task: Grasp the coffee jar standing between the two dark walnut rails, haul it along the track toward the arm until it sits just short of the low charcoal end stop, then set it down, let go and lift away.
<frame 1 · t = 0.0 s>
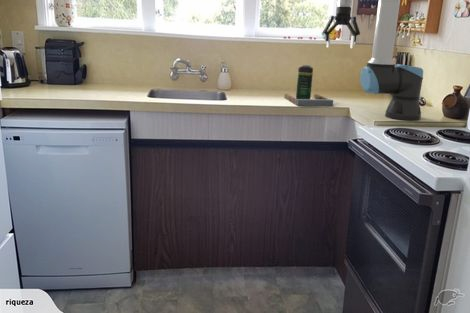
hand: (339, 48, 230), 28 cm above the worktop, fingers open, 13 cm apart
end stop: (314, 105, 216), on the worktop
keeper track: (306, 101, 228), on the worktop
coffee jar: (303, 100, 234), on the worktop
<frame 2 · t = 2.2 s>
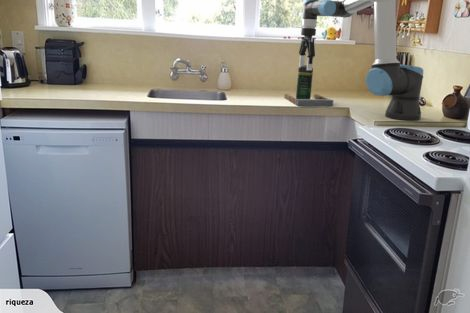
hand: (305, 68, 230), 17 cm above the worktop, fingers open, 13 cm apart
nothing on the worktop moved.
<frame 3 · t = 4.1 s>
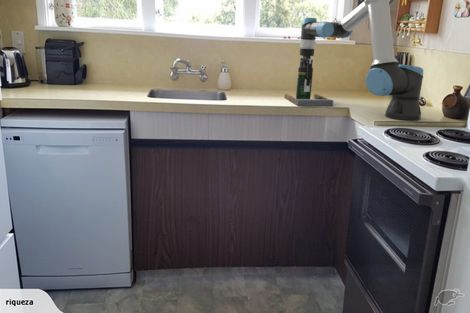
hand: (303, 90, 233), 5 cm above the worktop, fingers closed on coffee jar, 9 cm apart
coffee jar: (303, 99, 234), on the worktop, touching gripper
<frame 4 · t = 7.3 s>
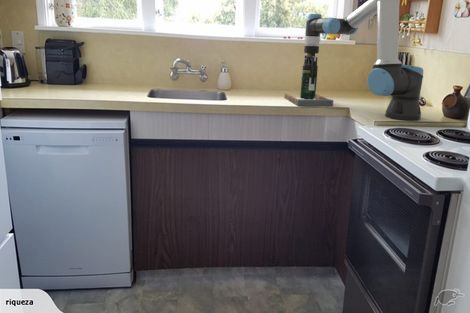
hand: (308, 89, 225), 7 cm above the worktop, fingers closed on coffee jar, 9 cm apart
coffee jar: (307, 98, 227), point 1 cm above the worktop, touching gripper
when the fingers open (5 cm above the worktop, at t = 10.6 s): coffee jar stays where it is, on the worktop.
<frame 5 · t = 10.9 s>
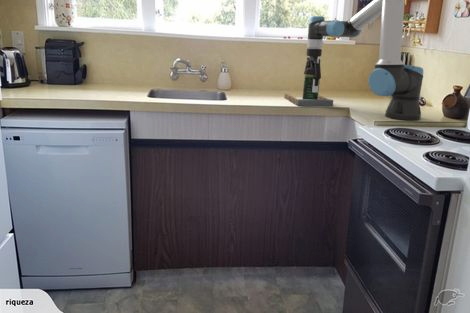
hand: (310, 90, 221), 7 cm above the worktop, fingers open, 13 cm apart
coffee jar: (309, 103, 223), on the worktop
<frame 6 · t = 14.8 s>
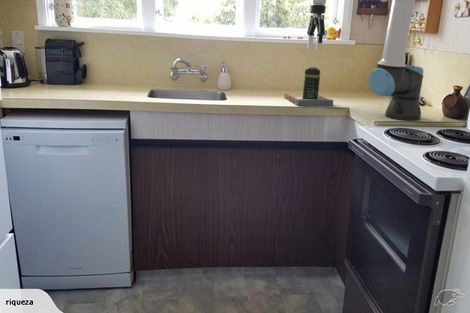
hand: (314, 49, 215), 27 cm above the worktop, fingers open, 13 cm apart
nothing on the worktop moved.
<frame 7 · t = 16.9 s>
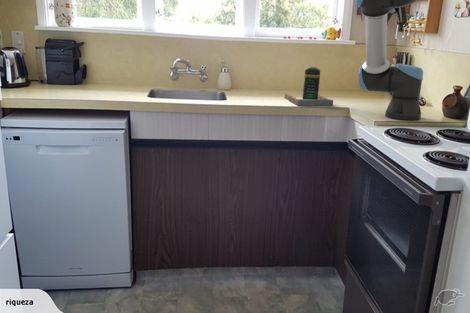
hand: (390, 38, 209), 34 cm above the worktop, fingers open, 13 cm apart
nothing on the worktop moved.
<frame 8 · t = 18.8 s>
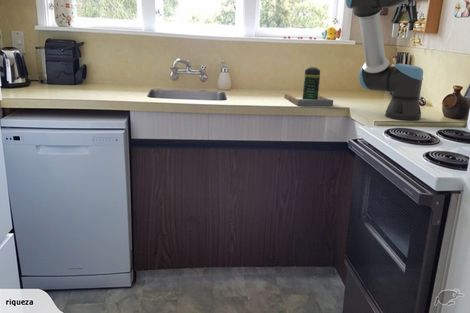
hand: (401, 37, 208), 35 cm above the worktop, fingers open, 13 cm apart
nothing on the worktop moved.
at the end: coffee jar inside the target area (0.1 cm from its centre), on the worktop; coffee jar tilted 0°; the gripper is holding nothing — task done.
